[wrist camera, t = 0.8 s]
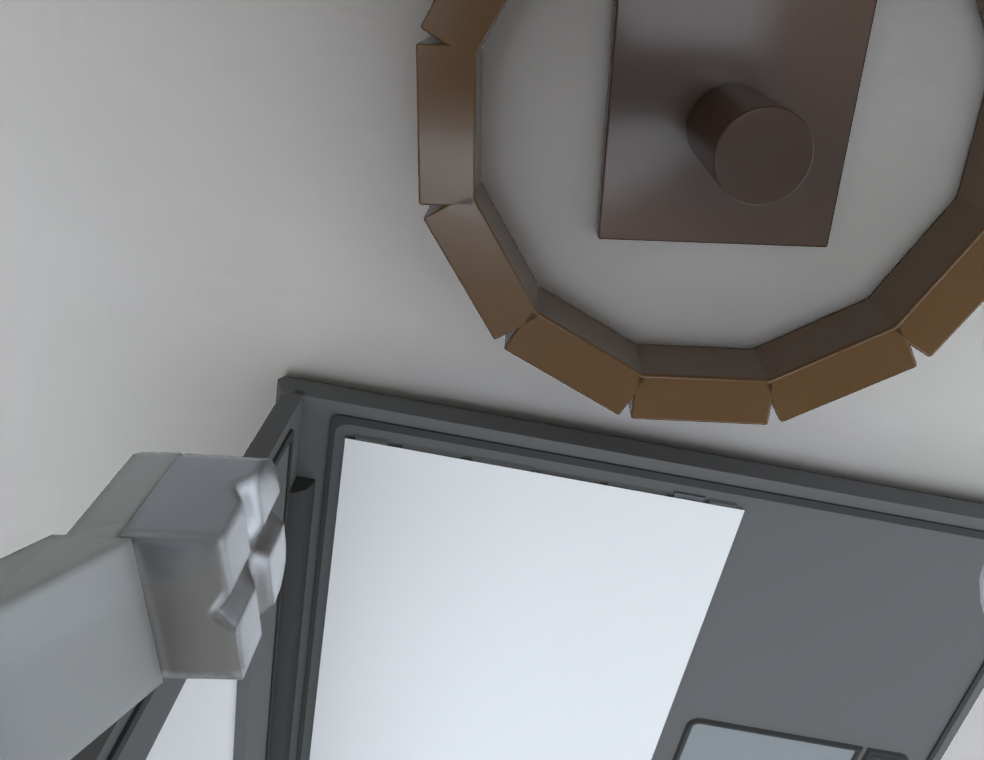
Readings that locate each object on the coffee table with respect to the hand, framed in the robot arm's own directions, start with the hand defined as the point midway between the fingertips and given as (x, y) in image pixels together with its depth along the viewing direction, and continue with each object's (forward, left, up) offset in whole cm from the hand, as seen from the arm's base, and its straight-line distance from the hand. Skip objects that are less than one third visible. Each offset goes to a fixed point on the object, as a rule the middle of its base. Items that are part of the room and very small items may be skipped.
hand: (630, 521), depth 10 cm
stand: (-2, +4, -18) cm, 19 cm away
